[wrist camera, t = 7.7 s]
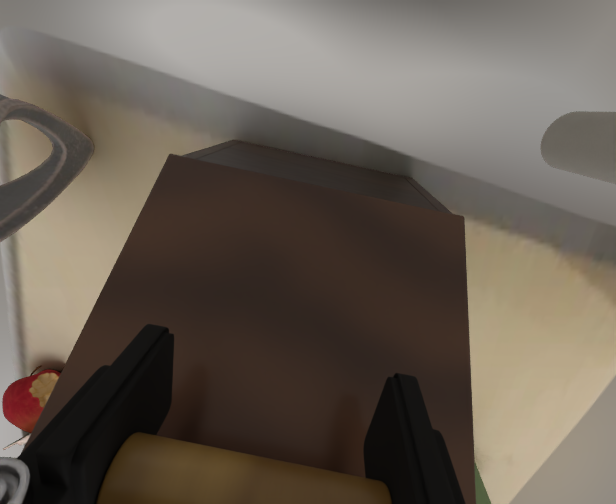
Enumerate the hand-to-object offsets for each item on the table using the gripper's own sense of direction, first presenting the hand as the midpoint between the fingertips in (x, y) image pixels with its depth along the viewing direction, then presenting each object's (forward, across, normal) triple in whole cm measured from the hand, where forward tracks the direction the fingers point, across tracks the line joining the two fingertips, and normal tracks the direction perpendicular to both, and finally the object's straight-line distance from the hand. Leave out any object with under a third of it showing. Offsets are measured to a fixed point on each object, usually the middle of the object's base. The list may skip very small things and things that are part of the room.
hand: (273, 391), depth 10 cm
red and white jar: (+16, +22, +28) cm, 39 cm away
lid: (+4, 0, +1) cm, 4 cm away
